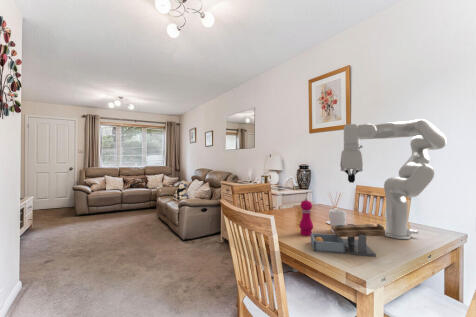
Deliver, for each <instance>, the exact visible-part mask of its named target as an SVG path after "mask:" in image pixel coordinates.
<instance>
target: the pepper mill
mask: <svg viewBox="0 0 476 317" xmlns="http://www.w3.org/2000/svg"><path fill="white" fill-rule="evenodd" d="M300 208H301V213H302V215H301V219H300V222H299V224H298V225H299V228H300V231H299V234H300V235H301V236H304V237H311V233H313V229H314V224H313V222H312V219H311V213H312V210H311V209H312V208H313V204H312V202H311V201H310V200H309V198H308V197H305V198H304V200H302V201H301V203H300Z"/></svg>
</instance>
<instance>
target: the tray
mask: <svg viewBox="0 0 476 317" xmlns="http://www.w3.org/2000/svg"><path fill="white" fill-rule="evenodd" d="M384 228H385V227H384V226H383V225H382V224H380V223H377V224H376V225H374V224H373V223H371V224H369V223H368V224H354V225H348V224H345V225H336V226H332V229H333V230H334V232H335V233H334V234H335V235H337V236H338V237H341V238H348V237H355V238H358V234H364V235H367V237H386V236H385V230H386V229H384Z"/></svg>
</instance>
